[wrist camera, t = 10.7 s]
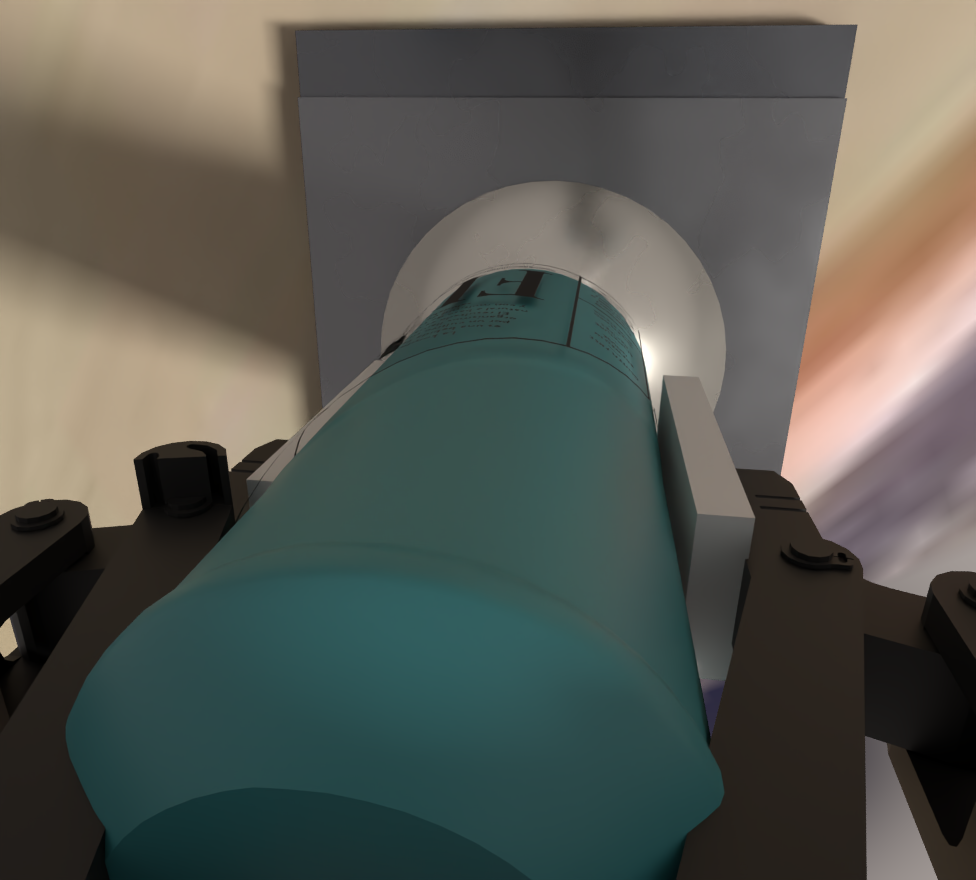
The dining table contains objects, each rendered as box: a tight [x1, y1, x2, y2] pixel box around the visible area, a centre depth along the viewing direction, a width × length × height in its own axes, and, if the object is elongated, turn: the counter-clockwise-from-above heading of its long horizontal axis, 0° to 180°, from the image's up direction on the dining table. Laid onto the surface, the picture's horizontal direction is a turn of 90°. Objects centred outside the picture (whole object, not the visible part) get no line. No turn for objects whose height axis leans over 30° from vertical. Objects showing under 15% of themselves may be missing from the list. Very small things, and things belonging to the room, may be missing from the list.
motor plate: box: [295, 25, 857, 475], centre depth 22 cm, size 16×14×1 cm
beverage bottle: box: [65, 263, 725, 880], centre depth 12 cm, size 6×7×20 cm
